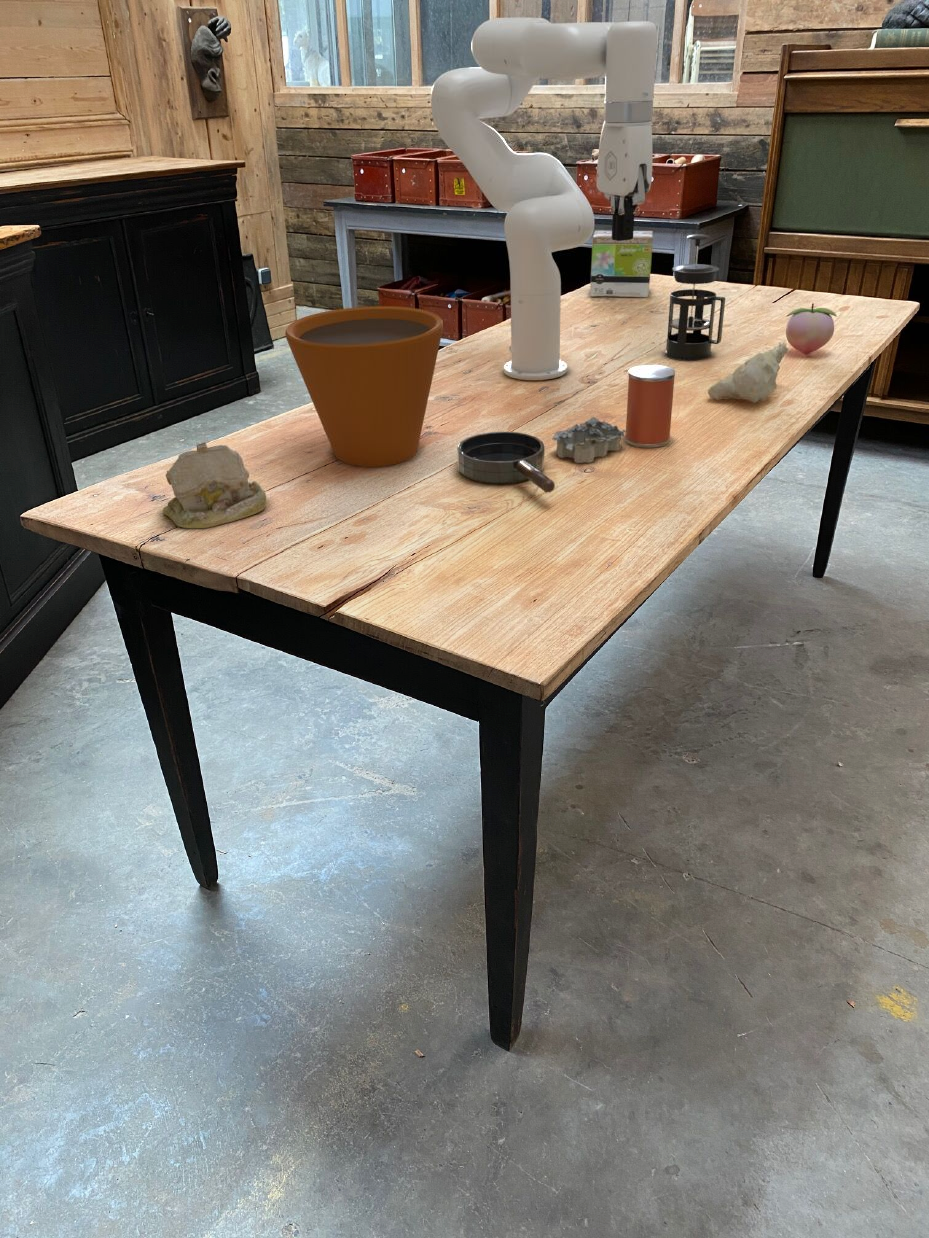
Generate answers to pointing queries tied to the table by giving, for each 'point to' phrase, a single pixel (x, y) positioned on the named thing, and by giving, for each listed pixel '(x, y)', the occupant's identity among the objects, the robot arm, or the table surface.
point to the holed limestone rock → (751, 377)
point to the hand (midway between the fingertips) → (622, 239)
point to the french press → (692, 343)
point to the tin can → (649, 406)
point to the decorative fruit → (809, 328)
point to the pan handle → (535, 476)
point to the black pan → (499, 456)
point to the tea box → (621, 265)
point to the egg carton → (588, 440)
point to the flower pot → (368, 377)
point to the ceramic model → (211, 488)
